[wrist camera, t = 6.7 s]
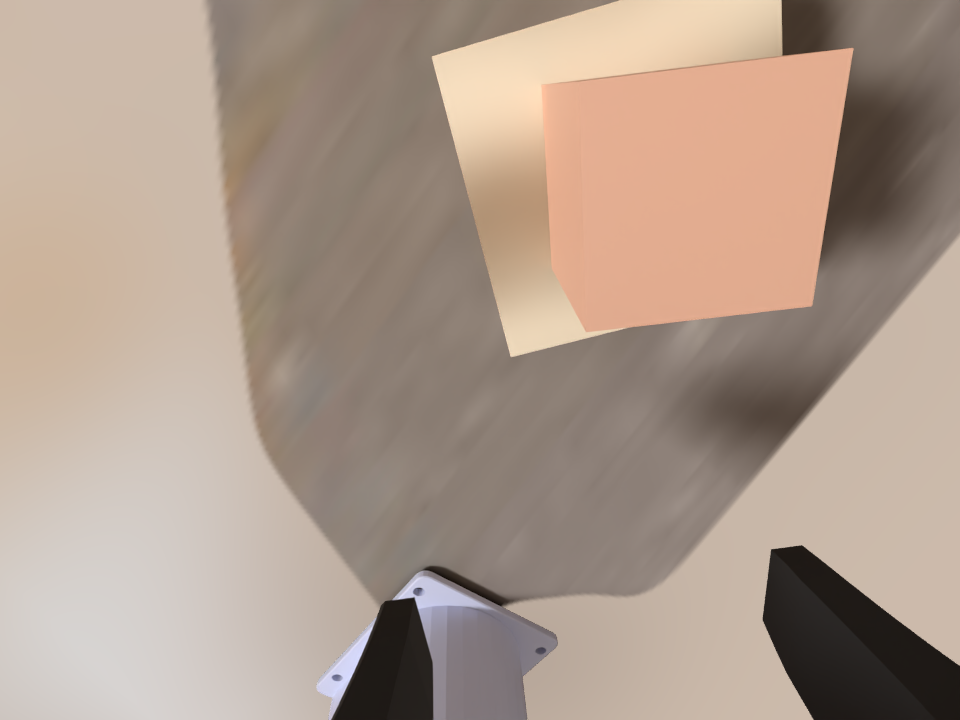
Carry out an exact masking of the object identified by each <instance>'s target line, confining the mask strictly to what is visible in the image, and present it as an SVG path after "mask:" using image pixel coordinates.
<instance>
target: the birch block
mask: <svg viewBox="0 0 960 720" xmlns="http://www.w3.org/2000/svg"><path fill="white" fill-rule="evenodd" d="M776 56H782V2H781V0H620V1H617V2H613V3H610V4H606V5H603V6H600V7H596V8H593V9H590V10H586V11H583V12H580V13H576V14H573V15H570V16H566V17H563V18H559V19H556V20H553V21H549V22H546V23H543V24H539V25H536V26H533V27H529V28H526V29H523V30H519V31H516V32H512V33H509V34H506V35H502V36H499V37H496V38H492V39H489V40H486V41H482V42H479V43H476V44H472V45H469V46H465V47H462V48H459V49H455V50H452V51H449V52H445V53H442V54H439V55H435V56H432V60H433V63H434V67H435V71H436V75H437V79H438V82H439V86H440V90H441V94H442V98H443V101H444V105H445V109H446V113H447V116H448V120H449V124H450V128H451V132H452V135H453V139H454V143H455V147H456V151H457V154H458V158H459V162H460V166H461V170H462V173H463V177H464V181H465V185H466V189H467V192H468V196H469V200H470V204H471V208H472V211H473V215H474V219H475V223H476V227H477V230H478V234H479V238H480V242H481V245H482V249H483V253H484V257H485V261H486V264H487V268H488V272H489V276H490V280H491V283H492V287H493V291H494V295H495V299H496V302H497V306H498V310H499V314H500V318H501V321H502V325H503V329H504V333H505V337H506V340H507V344H508V348H509V352H510V355H511V357H513V356H517V355H521V354H525V353H529V352H533V351H537V350H541V349H545V348H549V347H553V346H557V345H561V344H565V343H569V342H573V341H577V340H581V339H585V338H589V337H593V336H597V335H601V334H605V333H609V332H613V331H617V330H621V329H625V328H619V329H611V330H602V331H593V332H586V331H585V330H584V328H583V326H582V324H581V322H580V320H579V318H578V316H577V315H576V313H575V311H574V309H573V307H572V305H571V303H570V302H569V300H568V298H567V296H566V294H565V292H564V290H563V288H562V287H561V285H560V283H559V281H558V279H557V277H556V275H555V273H554V272H553V270H552V266H551V248H550V230H549V212H548V194H547V177H546V159H545V141H544V123H543V105H542V87H541V85H544V84H552V83H560V82H569V81H577V80H585V79H593V78H601V77H609V76H617V75H626V74H634V73H642V72H650V71H658V70H666V69H674V68H683V67H691V66H699V65H707V64H715V63H723V62H731V61H740V60H749V59H758V58H767V57H776ZM628 328H629V327H628Z"/></svg>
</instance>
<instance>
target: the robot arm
mask: <svg viewBox="0 0 960 720" xmlns="http://www.w3.org/2000/svg"><path fill="white" fill-rule="evenodd" d="M417 588H422V589H417ZM763 622H764V624H765V626H766V629H767V631H768V633H769V635H770V638H771V640H772V642H773V644H774V647H775V649H776V651H777V653H778V655H779V657H780V660H781V662H782V664H783V666H784V668H785V670H786V673H787V674H788V676H789V678H790V679H791V681H792V683H793V685H794V686H795V688H796V690H797V691H798V693H799V695H800V697H801V699H802V700H803V702H804V704H805V706H806V707H807V709H808V711H809V712H810V714H811V716H812V718H813V719H814V720H960V666H959V665H958V664H956V663H955V662H953V661H952V660H951V659H949V658H948V657H946V656H945V655H943V654H942V653H941V652H939V651H938V650H937V649H935V648H934V647H933V646H931V645H930V644H928V643H927V642H926V641H924V640H923V639H922V638H920V637H919V636H917V635H916V634H915V633H914V632H912V631H911V630H910V629H908V628H907V627H906V626H904V625H903V624H902V623H900V622H899V621H898V620H896V619H895V618H894V617H892V616H891V615H890V614H889V613H887V612H886V611H885V610H883V609H882V608H881V607H880V606H878V605H877V604H876V603H874V602H873V601H872V600H871V599H869V598H868V597H867V596H865V595H864V594H863V593H862V592H860V591H859V590H858V589H857V588H855V587H854V586H853V585H851V584H850V583H849V582H848V581H846V580H845V579H844V578H843V577H841V576H840V575H839V574H838V573H836V572H835V571H834V570H833V569H831V568H830V567H829V566H828V565H826V564H825V563H824V562H822V561H821V560H820V559H819V558H818V557H816V556H815V555H814V554H812V553H811V552H810V551H808V550H807V549H806V548H805V547H804V546H802V545H801V546H794V547H787V548H779V549H772V550H771V556H770V563H769V572H768V580H767V588H766V596H765V604H764V613H763ZM557 644H558V642H557V637H556V635H555V634H554V633H553V632H551V631H549V630H547V629H545V628H543V627H541V626H539V625H536V624H535V623H533V622H531V621H529V620H527V619H525V618H523V617H521V616H518V615H517V614H515V613H513V612H511V611H509V610H507V609H505V608H503V607H501V606H499V605H497V604H495V603H493V602H491V601H489V600H487V599H485V598H483V597H481V596H479V595H477V594H475V593H473V592H471V591H469V590H467V589H465V588H463V587H461V586H459V585H457V584H455V583H453V582H451V581H449V580H447V579H445V578H443V577H441V576H439V575H437V574H435V573H433V572H431V571H421V572H419V573H417V574H416V575H415V576H414V577H413V578H412V579H411V580H410V581H409V582H408V584H407V585H406V586H405V587H404V588H403V589H402V590H401V591H400V592H399V593H398V594H397V595H396V596H395V598H394V599H393V600H391V601H385V602H384V603H383V604H382V605H381V607H380V610H379V613H378V615H377V617H376V618H375V619H374V620H373V621H372V622H371V623H370V624H369V626H368V627H367V628H366V629H365V630H364V631H363V632H362V633H361V634H360V635H359V636H358V637H357V638H356V640H355V641H354V642H353V643H352V644H351V645H350V646H349V647H348V648H347V649H346V650H345V651H344V653H342V655H341V656H340V657H339V658H338V659H337V660H336V661H335V662H334V663H333V664H332V665H331V666H330V667H329V669H328V670H327V671H326V672H325V673H324V674H323V675H322V676H321V677H320V678H319V680H318V683H317V690H318V691H319V692H320V693H321V694H323V695H326V696H329V697H331V698H332V703H331V709H330V713H329V718H328V720H527V713H526V704H525V695H524V687H523V678H522V677H523V676H524V675H525V674H526V673H527V672H528V671H529V670H531V669H532V668H533V667H534V666H535V665H536V664H538V663H539V662H540V661H541V660H542V659H543V658H544V657H546V656H547V655H548V654H549V653H550V652H551V651H552V650H554V649H555V648H556V646H557Z"/></svg>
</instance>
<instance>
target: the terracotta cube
mask: <svg viewBox="0 0 960 720" xmlns="http://www.w3.org/2000/svg"><path fill="white" fill-rule="evenodd" d="M852 54H853V48H848V49H839V50H830V51H821V52H812V53H803V54H794V55H785V56H776V57H767V58H758V59H749V60H740V61H731V62H723V63H715V64H707V65H699V66H691V67H683V68H674V69H666V70H658V71H650V72H642V73H634V74H626V75H617V76H609V77H601V78H593V79H585V80H577V81H569V82H560V83H552V84H544V85H541V87H542V105H543V123H544V141H545V159H546V177H547V194H548V212H549V230H550V248H551V266H552V270H553V272H554V273H555V275H556V277H557V279H558V281H559V283H560V285H561V287H562V288H563V290H564V292H565V294H566V296H567V298H568V300H569V302H570V303H571V305H572V307H573V309H574V311H575V313H576V315H577V316H578V318H579V320H580V322H581V324H582V326H583V328H584V330H585V331H586V332H593V331H602V330H611V329H619V328H628V327H636V326H645V325H654V324H662V323H671V322H680V321H688V320H697V319H705V318H714V317H723V316H731V315H740V314H748V313H757V312H766V311H774V310H783V309H792V308H800V307H809V306H812V303H813V297H814V291H815V285H816V278H817V272H818V266H819V260H820V254H821V247H822V241H823V235H824V229H825V222H826V216H827V210H828V204H829V197H830V191H831V185H832V179H833V173H834V166H835V160H836V154H837V148H838V141H839V135H840V129H841V123H842V117H843V110H844V104H845V98H846V92H847V85H848V79H849V73H850V67H851V60H852Z"/></svg>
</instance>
